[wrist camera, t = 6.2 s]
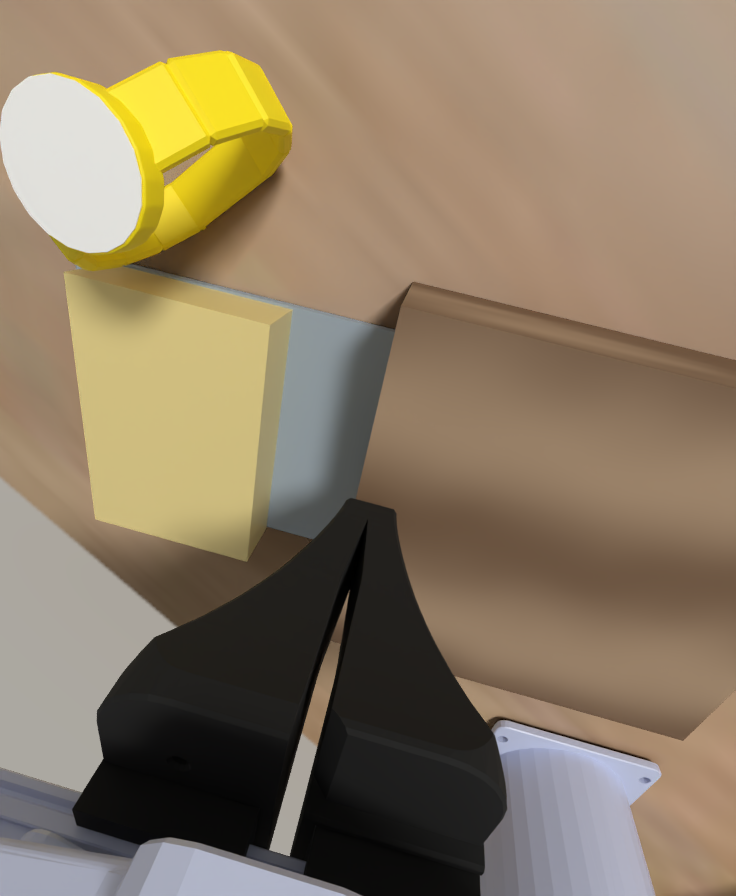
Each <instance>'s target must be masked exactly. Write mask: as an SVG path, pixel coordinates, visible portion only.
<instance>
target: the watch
mask: <svg viewBox="0 0 736 896" xmlns="http://www.w3.org/2000/svg"><path fill="white" fill-rule="evenodd" d="M292 127H293V126H292V124H291V122H290V120H289V119H288V117H287V115H286V113H285V111H284V109H283V107H282V106H281V104H280V102H279V100H278V98H277V96H276V95H275V93H274V91H273V89H272V87H271V85H270V83H269V82H268V80H267V78H266V76H265V74H264V72H263V70H262V69H261V68H260V66H259V65H257V64H255V63H253V62H251V61H249V60H247V59H245V58H243V57H241V56H239V55H237V54H234V53H232V52H229V51H226V52H224V51H221V50H219V51H213V52H206V53H200V54H194V55H187V56H181V57H175V58H168V60H167V63H166V64H165V63H162V62H158V63H156V64H154V65H152V66H150V67H148V68H146V69H144V70H142V71H140V72H138V73H136V74H134V75H132V76H130V77H128V78H127V79H125V80H123V81H121V82H119V83H117V84H115V85H113V86H111V87H109V88H107V89H106V88H105V87H103V86H101V85H99V84H96V83H93V82H89V81H86V80H82V79H79V78H75V77H72V76H68V75H65V74H61V73H57V72H51V73H44V74H38V75H33V76H29V77H27V78H26V79H25V80H24V81H22V82H21V83H20V84H18V85H17V86H16V87H15V88H13V89H12V91H11V93H10V95H9V97H8V99H7V101H6V103H5V105H4V107H3V109H2V116H1V126H0V143H1V149H2V156H3V162H4V165H5V168H6V171H7V173H8V176H9V178H10V181H11V184H12V186H13V189H14V191H15V193H16V194H17V196H18V197H19V199H20V201H21V202H22V204H23V205H24V207H25V208H26V210H27V212H28V213H29V215H30V216H31V217H32V218H33V219H34V220H35V221H36V222H37V223H38V224H39V225H40V226H41V227H42V228H43V229H44V230H45V231H46V232H47V233H48V235H49V236H50V237H51V239H52V240H53V241H54V243H55V244H56V245H57V246H58V248H59V249H60V250H61V252H62V253H63V254H64V255H65V257H66V258H67V259H68V260H69V261H70V262H72V263H74V264H75V265H77V266H79V267H80V268H82V269H84V270H88V271H98V270H105V269H112V268H119V267H122V266H123V265H125V266H127V265H129V264H132V263H134V262H137V261H140V260H142V259H145V258H148V257H150V256H153V255H155V254H158V253H160V252H161V251H162V250H164V251H165V250H167V249H169V248H170V247H172V246H174V245H176V244H178V243H180V242H182V241H183V240H185V239H187V238H189V237H191V236H193V235H195V234H196V233H198V232H200V230H202V231H203V230H204V229H206V228H207V227H206V226H207V225H208V224H209V223H211V222H212V221H213V220H214V219H216V218H217V217H218V216H220V215H221V214H222V213H224V212H225V211H226V210H227V209H229V208H230V207H231V206H233V205H234V204H235V203H236V202H238V201H239V200H240V199H242V198H243V197H244V196H245V195H247V194H248V193H249V192H251V191H252V190H253V189H255V188H256V187H257V186H258V185H260V184H261V183H262V182H264V181H265V180H266V179H267V178H269V177H270V176H272V175H273V174H274V172H275V171H276V170H277V168H278V167H279V166H280V164H281V163H282V162H283V160H284V159H285V158H286V156H287V155H288V154H289V150H291V144H292ZM210 145H212V146H214V145H215V146H214V147H213V148H211V149H210V150H209V151H208V152H207V153H206V154H204V155H203V156H202V157H201V158H200V159H198V160H197V161H196V162H195V163H194V164H193V165H191V166H190V167H189V168H188V169H187V170H186V171H184V172H183V173H182V174H181V175H180V176H179V177H177V178H176V179H175V180H174V181H173V182H172V183H170V184H168V185H166V186H164V178H163V173H164V172H166V171H168V170H170V169H172V168H173V167H175V166H177V165H179V164H181V163H182V162H184V161H186V160H188V159H190V158H192V157H193V156H195V155H197V154H199V153H201V152H202V151H204V150H206V149H208V148H210Z"/></svg>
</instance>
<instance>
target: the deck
mask: <svg viewBox="0 0 736 896" xmlns="http://www.w3.org/2000/svg"><path fill="white" fill-rule="evenodd" d="M356 499H357V500H361V501H365V502H369V503H372V504H376V505H380V506H384V507H387V508H391V509H394V510H395V512H396V514H397V529H398V536H399V541H400V546H401V551H402V555H403V559H404V563H405V567H406V570H407V574H408V577H409V580H410V583H411V586H412V589H413V592H414V595H415V598H416V600H417V603H418V605H419V608H420V610H421V613H422V615H423V617H424V620H425V622H426V624H427V626H428V629H429V631H430V633H431V635H432V637H433V639H434V641H435V643H436V645H437V647H438V648H439V650H440V652H441V654H442V656H443V657H444V659H445V661H446V663H447V665H448V666H449V668H450V670H451V672H452V673H453V675H454V676H457V677H460V678H464V679H467V680H471V681H474V682H478V683H481V684H485V685H488V686H492V687H496V688H499V689H503V690H506V691H510V692H513V693H517V694H520V695H524V696H527V697H531V698H534V699H538V700H541V701H545V702H548V703H552V704H555V705H559V706H563V707H566V708H570V709H573V710H577V711H580V712H584V713H587V714H591V715H594V716H598V717H601V718H605V719H608V720H612V721H615V722H619V723H622V724H626V725H630V726H633V727H637V728H640V729H644V730H647V731H651V732H654V733H658V734H661V735H665V736H668V737H672V738H675V739H679V740H682V741H683V740H684V739H685V738H686V737H687V736H688V735H689V734H690V733H691V732H693V731H694V730H695V729H696V728H697V727H698V726H699V725H700V724H701V723H702V722H703V721H704V720H705V719H706V718H707V717H708V716H709V715H710V714H711V713H712V712H713V711H714V710H715V709H717V708H718V707H719V706H720V705H721V704H722V703H723V702H724V701H725V700H726V699H727V698H728V697H729V696H730V695H731V694H732V693H733V692H734V691H735V690H736V360H732V359H728V358H724V357H720V356H715V355H711V354H707V353H703V352H699V351H695V350H691V349H687V348H683V347H679V346H674V345H670V344H666V343H662V342H658V341H654V340H650V339H646V338H642V337H638V336H633V335H629V334H625V333H621V332H617V331H613V330H609V329H605V328H601V327H597V326H592V325H588V324H584V323H580V322H576V321H572V320H568V319H564V318H560V317H556V316H551V315H547V314H543V313H539V312H535V311H531V310H527V309H523V308H519V307H515V306H510V305H506V304H502V303H498V302H494V301H490V300H486V299H482V298H478V297H474V296H469V295H465V294H461V293H457V292H453V291H449V290H445V289H441V288H437V287H433V286H429V285H424V284H420V283H416V282H413V283H412V285H411V287H410V289H409V291H408V293H407V295H406V297H405V299H404V301H403V303H402V305H401V308H400V312H399V316H398V321H397V325H396V329H395V334H394V338H393V342H392V346H391V351H390V355H389V359H388V363H387V368H386V372H385V376H384V381H383V385H382V389H381V393H380V398H379V402H378V406H377V410H376V415H375V419H374V423H373V428H372V432H371V436H370V440H369V445H368V449H367V453H366V457H365V462H364V466H363V470H362V475H361V479H360V483H359V487H358V492H357V496H356ZM349 591H350V590H349ZM348 597H349V593H348V596H347V598H346V601H345V603H344V606H343V609H342V611H341V614H340V617H339V619H338V622H337V625H336V627H335V630H334V632H333V635H332V638H331V640H330V641H333V642H337V643H340V644H341V640H342V634H343V628H344V621H345V615H346V609H347V603H348Z"/></svg>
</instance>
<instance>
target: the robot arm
mask: <svg viewBox="0 0 736 896" xmlns="http://www.w3.org/2000/svg"><path fill="white" fill-rule="evenodd" d="M349 590H350V591H349ZM348 593H349V597H348V603H347V609H346V615H345V621H344V628H343V634H342V640H341V646H340V652H339V659H338V665H337V670H336V675H335V679H334V684H333V688H332V692H331V696H330V700H329V704H328V707H327V711H326V715H325V719H324V723H323V727H322V731H321V735H320V739H319V743H318V747H317V751H316V755H315V759H314V763H313V767H312V770H311V775H310V778H309V782H308V786H307V790H306V794H305V798H304V802H303V806H302V810H301V814H300V818H299V822H298V826H297V829H296V833H295V837H294V841H293V845H292V849H291V853H290V856H286V855H283V854H280V853H277V852H273V851H270V850H269V848H270V844H271V841H272V838H273V834H274V830H275V827H276V823H277V819H278V816H279V812H280V809H281V805H282V801H283V798H284V794H285V791H286V787H287V783H288V780H289V776H290V773H291V769H292V766H293V762H294V758H295V755H296V751H297V748H298V744H299V740H300V736H301V733H302V730H303V726H304V723H305V719H306V716H307V712H308V708H309V705H310V701H311V698H312V694H313V691H314V687H315V684H316V680H317V677H318V673H319V670H320V668H321V665H322V662H323V659H324V656H325V653H326V651H327V648H328V646H329V643H330V640H331V638H332V635H333V632H334V630H335V627H336V625H337V622H338V619H339V617H340V614H341V611H342V609H343V606H344V603H345V601H346V598H347V596H348ZM97 725H98V731H99V736H100V741H101V747H102V752H103V758H104V759H103V760H102V762H101V764H100V765H99V767H98V769H97V770H96V772H95V773H94V775H93V776H92V778H91V780H90V781H89V783H88V784H87V786H86V788H85V789H84V791H83V792H78V791H75V790H72V789H69V788H65V787H62V786H59V785H55V784H52V783H49V782H46V781H42V780H39V779H36V778H33V777H29V776H26V775H23V774H20V773H16V772H13V771H9V770H6V769H3V768H0V896H655V892H654V889H653V885H652V882H651V878H650V875H649V871H648V868H647V864H646V861H645V857H644V854H643V850H642V847H641V843H640V840H639V836H638V833H637V830H636V826H635V823H634V819H633V816H632V812H631V809H630V805H631V804H632V803H633V802H634V801H635V800H636V799H637V798H639V797H640V796H641V795H642V794H643V793H644V792H645V791H646V790H647V789H648V788H649V787H650V786H651V785H653V784H654V783H655V782H656V781H657V780H658V779H659V778H660V777H661V772H660V769H659V766H658V765H657V764H656V763H653V762H651V761H647V760H644V759H640V758H637V757H633V756H630V755H626V754H623V753H620V752H616V751H613V750H609V749H606V748H602V747H599V746H595V745H592V744H588V743H585V742H581V741H578V740H574V739H571V738H567V737H564V736H560V735H557V734H553V733H550V732H546V731H543V730H539V729H536V728H532V727H529V726H525V725H522V724H518V723H515V722H511V721H508V720H500V721H498V722H497V723H495V725H494V726H493V728H492V730H491V729H490V728H489V726H488V725H487V724H486V722H485V721H484V720H483V718H482V717H481V716H480V714H479V713H478V711H477V710H476V709H475V707H474V706H473V705H472V703H471V702H470V700H469V699H468V697H467V696H466V694H465V693H464V691H463V689H462V688H461V686H460V685H459V683H458V682H457V680H456V678H455V677H454V675H453V673H452V672H451V670H450V668H449V666H448V665H447V663H446V661H445V659H444V657H443V656H442V654H441V652H440V650H439V648H438V647H437V645H436V643H435V641H434V639H433V637H432V635H431V633H430V631H429V629H428V626H427V624H426V622H425V620H424V617H423V615H422V613H421V610H420V608H419V605H418V603H417V600H416V598H415V595H414V592H413V589H412V586H411V583H410V580H409V577H408V574H407V570H406V567H405V563H404V559H403V555H402V551H401V546H400V541H399V536H398V529H397V514H396V512H395V510H394V509H391V508H387V507H384V506H380V505H376V504H372V503H369V502H365V501H361V500H357V499H354V498H349V499H347V500H346V501H345V503H344V505H343V506H342V508H341V509H340V510H339V512H338V513H337V514H336V515H335V517H334V518H333V519H332V520H331V521H330V522H329V524H328V525H327V526H326V527H325V528H324V529H323V530H322V531H321V532H320V533H319V534H318V535H317V536H316V537H315V538H314V539H313V540H312V541H311V542H310V543H309V544H308V545H307V546H306V547H305V548H304V549H302V550H301V551H300V552H299V553H298V554H297V555H296V556H295V557H294V558H292V559H291V560H290V561H289V562H287V563H286V564H285V565H284V566H282V567H281V568H280V569H279V570H277V571H276V572H275V573H273V574H272V575H270V576H269V577H268V578H266V579H265V580H263V581H262V582H260V583H259V584H257V585H256V586H254V587H253V588H251V589H250V590H248V591H247V592H245V593H243V594H242V595H240V596H239V597H237V598H235V599H233V600H232V601H230V602H228V603H226V604H224V605H222V606H220V607H219V608H217V609H215V610H213V611H211V612H209V613H207V614H206V615H204V616H202V617H200V618H197V619H195V620H193V621H191V622H189V623H186V624H184V625H182V626H180V627H177V628H175V629H173V630H171V631H168V632H166V633H164V634H161V635H159V636H156V637H155V638H154V639H153V640H152V641H150V643H149V644H148V645H147V646H146V647H145V648H144V649H143V650H142V651H141V652H140V653H139V654H138V656H137V657H136V658H135V659H134V660H133V661H132V662H131V663H130V665H129V666H128V667H127V668H126V669H125V671H124V672H123V673H122V675H121V676H120V677H119V679H118V680H117V682H116V683H115V685H114V686H113V688H112V689H111V691H110V692H109V694H108V695H107V697H106V698H105V700H104V701H103V703H102V704H101V706H100V707H99V709H98V710H97Z"/></svg>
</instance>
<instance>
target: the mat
mask: <svg viewBox="0 0 736 896" xmlns="http://www.w3.org/2000/svg"><path fill="white" fill-rule="evenodd" d="M123 266H124V267H128V268H132V269H136V270H139V271H143V272H147V273H151V274H155V275H159V276H163V277H167V278H171V279H175V280H179V281H183V282H186V283H190V284H194V285H198V286H202V287H206V288H210V289H214V290H218V291H222V292H226V293H230V294H233V295H237V296H241V297H245V298H249V299H253V300H257V301H261V302H265V303H269V304H273V305H277V306H280V307H284V308H288V309H292V310H293V311H292V319H291V328H290V336H289V344H288V353H287V361H286V369H285V378H284V386H283V394H282V402H281V411H280V419H279V427H278V436H277V444H276V452H275V461H274V469H273V477H272V486H271V494H270V502H269V511H268V519H267V527H270V528H273V529H277V530H281V531H284V532H288V533H292V534H295V535H299V536H303V537H306V538H310V539H314V538H315V537H316V536H317V535H318V534H319V533H320V532H321V531H322V530H323V529H324V528H325V527H326V526H327V525H328V524H329V522H330V521H331V520H332V519H333V518H334V517H335V515H336V514H337V513H338V512H339V510H340V509H341V508H342V506H343V505H344V503H345V501H346V500H347V499H349V498H354V499H356V496H357V492H358V487H359V483H360V479H361V475H362V470H363V466H364V462H365V457H366V453H367V449H368V445H369V440H370V436H371V432H372V428H373V423H374V419H375V415H376V410H377V406H378V402H379V398H380V393H381V389H382V385H383V381H384V376H385V372H386V368H387V363H388V359H389V355H390V351H391V346H392V342H393V338H394V334H395V329H391V328H387V327H383V326H379V325H375V324H371V323H367V322H363V321H359V320H355V319H351V318H347V317H343V316H339V315H335V314H331V313H327V312H323V311H319V310H315V309H310V308H306V307H302V306H298V305H294V304H290V303H286V302H282V301H278V300H274V299H270V298H266V297H262V296H258V295H254V294H250V293H246V292H242V291H238V290H234V289H230V288H226V287H222V286H218V285H214V284H210V283H206V282H202V281H198V280H194V279H190V278H186V277H182V276H178V275H174V274H170V273H166V272H162V271H158V270H154V269H150V268H146V267H142V266H138V265H134V264H129V265H127V266H125V265H123ZM77 269H82V268H80V267H79V266H77V265H76V270H77Z"/></svg>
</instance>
